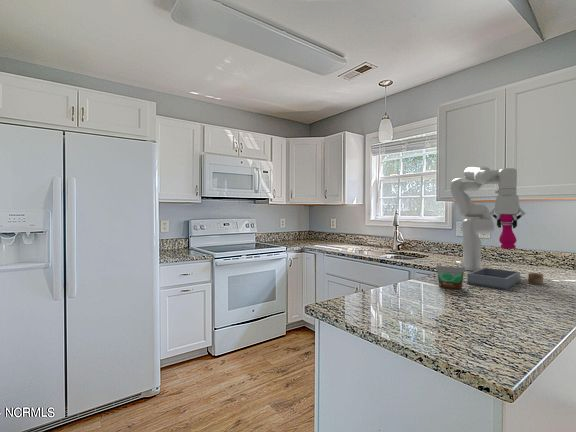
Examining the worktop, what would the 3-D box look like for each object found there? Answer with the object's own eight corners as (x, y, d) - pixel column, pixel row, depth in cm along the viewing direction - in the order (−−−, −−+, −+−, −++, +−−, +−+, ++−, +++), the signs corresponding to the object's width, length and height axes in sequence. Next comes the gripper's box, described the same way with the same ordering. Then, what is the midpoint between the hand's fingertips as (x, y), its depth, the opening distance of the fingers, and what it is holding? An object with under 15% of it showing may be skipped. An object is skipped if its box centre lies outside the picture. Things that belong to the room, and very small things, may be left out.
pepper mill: (517, 249, 152) (515, 209, 152) (499, 249, 156) (498, 209, 156) (516, 248, 158) (514, 209, 158) (499, 247, 162) (497, 210, 162)
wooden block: (528, 283, 152) (528, 273, 152) (530, 282, 155) (530, 272, 155) (541, 285, 148) (541, 275, 148) (543, 283, 152) (543, 273, 152)
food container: (434, 288, 140) (435, 266, 140) (435, 285, 146) (435, 264, 146) (465, 291, 134) (466, 268, 134) (465, 288, 140) (465, 266, 140)
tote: (467, 283, 150) (467, 273, 150) (483, 276, 167) (484, 267, 167) (506, 290, 138) (506, 279, 138) (520, 281, 155) (520, 272, 155)
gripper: (486, 192, 161) (485, 227, 161) (527, 191, 148) (526, 228, 148) (489, 193, 166) (489, 227, 166) (529, 192, 154) (529, 228, 154)
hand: (506, 227), depth 157 cm, fingers closed on pepper mill, 5 cm apart
